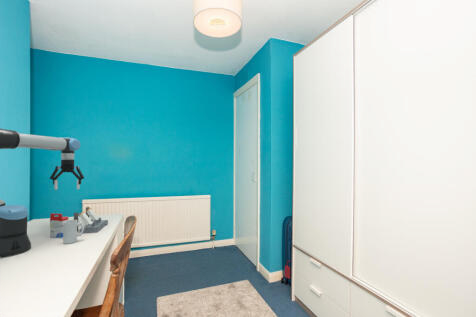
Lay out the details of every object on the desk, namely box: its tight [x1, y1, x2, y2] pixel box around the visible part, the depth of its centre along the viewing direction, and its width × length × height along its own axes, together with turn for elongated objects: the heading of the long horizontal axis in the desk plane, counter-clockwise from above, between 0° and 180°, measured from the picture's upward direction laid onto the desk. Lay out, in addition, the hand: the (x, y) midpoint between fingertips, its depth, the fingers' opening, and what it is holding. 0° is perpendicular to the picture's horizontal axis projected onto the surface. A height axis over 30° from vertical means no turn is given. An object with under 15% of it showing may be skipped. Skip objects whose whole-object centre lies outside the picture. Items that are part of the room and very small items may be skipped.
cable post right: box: [85, 206, 93, 221], centre depth 174 cm, size 11×2×12 cm, turn 13°
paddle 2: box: [85, 207, 100, 221], centre depth 162 cm, size 4×2×10 cm
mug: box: [62, 219, 85, 245], centre depth 132 cm, size 10×7×12 cm, turn 118°
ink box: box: [49, 213, 69, 239], centre depth 141 cm, size 8×5×15 cm, turn 84°
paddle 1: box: [78, 211, 93, 226], centre depth 151 cm, size 4×2×10 cm
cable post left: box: [73, 212, 79, 232], centre depth 150 cm, size 7×2×12 cm, turn 13°
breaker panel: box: [79, 217, 109, 234], centre depth 158 cm, size 21×10×5 cm, turn 13°
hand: (67, 189), depth 161 cm, fingers open, 13 cm apart
